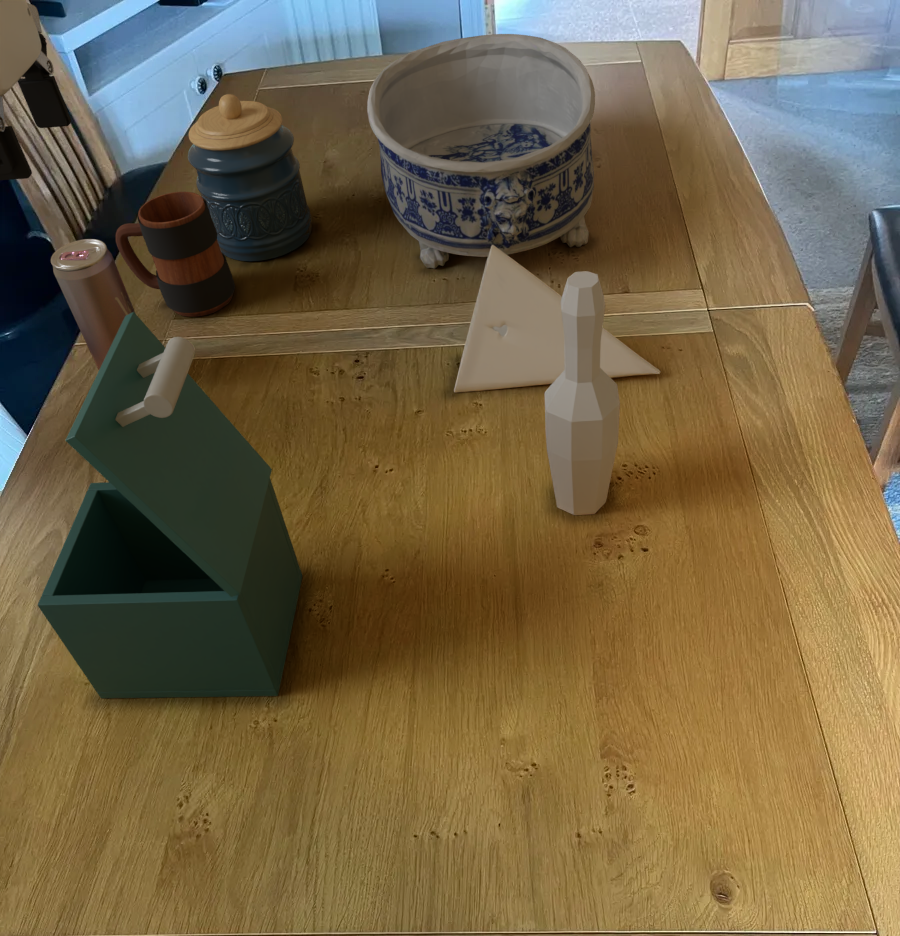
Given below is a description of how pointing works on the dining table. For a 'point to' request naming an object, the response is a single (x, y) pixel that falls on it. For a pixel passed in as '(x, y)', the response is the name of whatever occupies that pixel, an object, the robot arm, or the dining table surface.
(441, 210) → the decorative bowl
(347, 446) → the dining table surface
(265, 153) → the canister
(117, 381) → the cool box lid
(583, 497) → the low poly bottle
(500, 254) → the drafting triangle
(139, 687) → the cool box
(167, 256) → the mug
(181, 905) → the dining table surface
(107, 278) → the beverage can
